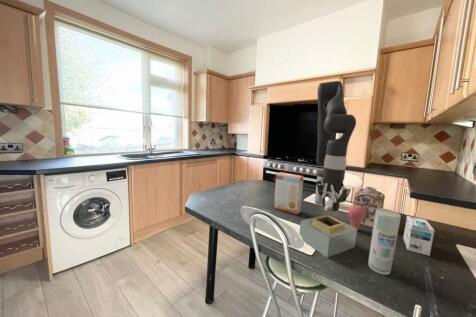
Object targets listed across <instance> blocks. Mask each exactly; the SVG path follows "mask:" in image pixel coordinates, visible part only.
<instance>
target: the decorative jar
mask: <svg viewBox="0 0 476 317" xmlns="http://www.w3.org/2000/svg"><path fill="white" fill-rule="evenodd" d="M385 199H386V197H385V193H382V192H380V191H378V190H377V188H375V187H372V186H365V187H364V188H358V189H356V191H355V192H354V196H353V201H352V205H360V206H362V207H363V208H364V209H365V211H366V216H365V218H364V219H363V220H362V221H361V224H360V225H363V226H366V227H369V228H372V229H373V226H374V219H375V212H376V209H379V208H382V209H384V205H385Z"/></svg>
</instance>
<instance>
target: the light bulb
mask: <svg viewBox="0 0 476 317" xmlns="http://www.w3.org/2000/svg"><path fill="white" fill-rule="evenodd" d="M347 213H348V216H349V219H350V224H349V225H350V226H352V227H354V228H356V229H357V231H359V229H360V225H362V224H361V221H362V220H363V219H364V218H365V216H366V211H365V209H364V208H363V207H362V206H360V205H353V204H352V205H351V206H349V208H348V209H347Z"/></svg>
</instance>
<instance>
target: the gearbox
mask: <svg viewBox="0 0 476 317" xmlns="http://www.w3.org/2000/svg"><path fill="white" fill-rule="evenodd" d="M357 233H358V230H357V229H356V228H354V227H352V226H350V224H347V223H345V222H344V221H341V220H339V219H337V218H335V217H334V216H331V215H329V214H324V215H319V216H316V217H312V218H311V217H310V218H307V219H303V220H300V225H299V234H300V235H301V236H302V238H303V240H304V241H303V240H302V241H303V243H306V244H307V245H308V246H310V247H311V248H312V249H314V250H315V251H316V252H319V254H321V255H322V256H323V257H326V258H330V257H333V256H335V255H338V254H340V253H344V252H346V251H349V250H351V249H353V248H355V247H356V239H357Z"/></svg>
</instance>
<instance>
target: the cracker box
mask: <svg viewBox="0 0 476 317" xmlns="http://www.w3.org/2000/svg"><path fill="white" fill-rule="evenodd" d="M303 185H304V175H299V174H293V173H287V172H282V171H281V172H277V173H276V174H275V188H274V189H275V190H274V202H273V209H276V210H280V211H283V212H287V213H290V214H293V215H295V216H296V215H299V214H300V213H301V210H302V197H303V188H304V186H303Z"/></svg>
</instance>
